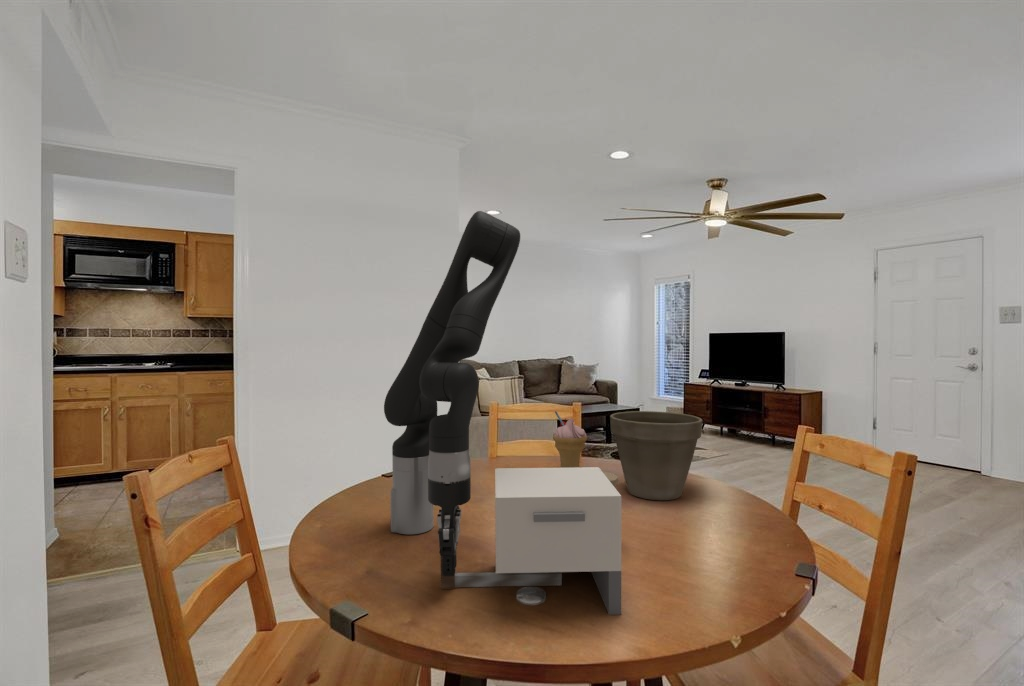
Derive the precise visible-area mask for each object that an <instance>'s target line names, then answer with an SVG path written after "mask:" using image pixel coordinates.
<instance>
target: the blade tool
mask: <svg viewBox="0 0 1024 686" xmlns="http://www.w3.org/2000/svg"><path fill="white" fill-rule="evenodd" d="M454 535H455V534H454ZM445 548H451V547H445ZM562 573H563V572H537V573H496V571H494V572H493V571H491V572H489V571H488V572H484V571H483V572H482V571H481V572H455V575H454V576H443V574H442V556H440V590H455V588H479V587H481V588H484V587H485V588H486V587H488V588H489V587H491V588H492V587H538V586H541V587H542V586H562V585H563V584H562V583H563V581H562V580H563V578H562V577H563V576H562V575H563V574H562Z"/></svg>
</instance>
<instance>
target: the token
mask: <svg viewBox="0 0 1024 686" xmlns="http://www.w3.org/2000/svg"><path fill="white" fill-rule="evenodd" d="M515 598H516V601H518V602H519V603H520V604H522V605H526V606H537V605H540V604H543V603H544V602H545V601H546V599H547V592H546V591H545V590H544V589H543V588H540V587H538V586H522V587H521V588H519V589H518V590H517V591H516V597H515Z"/></svg>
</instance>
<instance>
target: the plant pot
mask: <svg viewBox="0 0 1024 686" xmlns="http://www.w3.org/2000/svg"><path fill="white" fill-rule="evenodd" d="M609 421H610V433H611V434H612V435H614V438H615V439H614V440H615V445H616V449H617V452H618V453H617V454H618V456H619V461H620V465H621V469H622V472H623V476H624V481H625V485H626V489H627V492H628V493H629V494H630V495H632V496H635V497H636V498H637V497H638V498H641V499H646V500H651V501H672V500H675V499H678V498H680V497H682V495H683V491H684V488H685V486H686V481H687V478H688V476H689V472H690V469H691V465H692V461H693V458H694V453H695V451H696V447H697V442H698V440H699V439H700V438H701V437H702V431H703V419H702V418H701V417H699V416H695V415H691V414H686V413H678V412H669V411H657V410H656V411H653V410H645V411H644V410H636V411H635V410H634V411H623V412H622V411H621V412H616V413H612V414H610V415H609Z"/></svg>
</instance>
